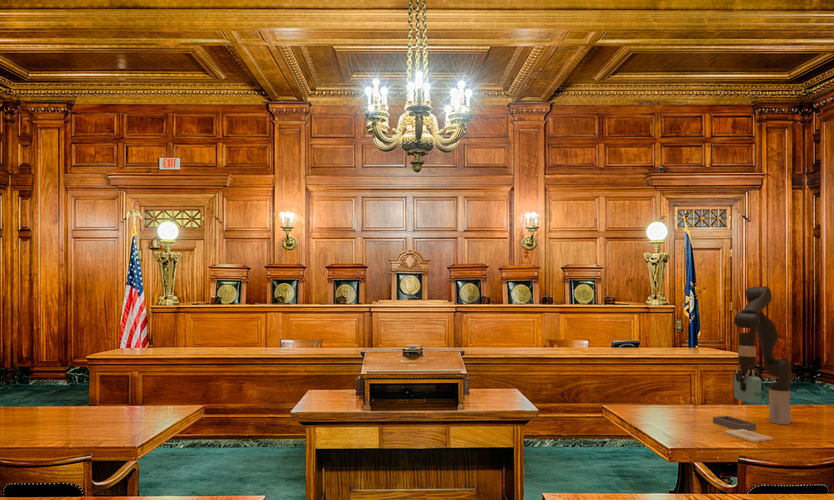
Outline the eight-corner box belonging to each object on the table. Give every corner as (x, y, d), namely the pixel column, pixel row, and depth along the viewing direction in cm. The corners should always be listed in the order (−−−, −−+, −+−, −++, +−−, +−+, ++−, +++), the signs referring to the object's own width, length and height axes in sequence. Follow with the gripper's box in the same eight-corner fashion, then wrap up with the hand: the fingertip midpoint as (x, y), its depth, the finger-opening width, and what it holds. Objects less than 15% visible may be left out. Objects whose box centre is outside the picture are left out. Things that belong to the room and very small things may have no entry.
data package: (761, 403, 268) (761, 377, 269) (753, 403, 267) (753, 377, 268) (741, 397, 280) (741, 373, 280) (733, 398, 279) (733, 373, 279)
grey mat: (743, 431, 282) (743, 429, 282) (773, 440, 267) (773, 437, 267) (723, 433, 278) (723, 430, 278) (752, 442, 263) (752, 439, 263)
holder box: (727, 421, 302) (727, 415, 302) (756, 429, 286) (756, 423, 286) (713, 422, 298) (713, 417, 299) (741, 431, 282) (741, 425, 283)
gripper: (751, 353, 280) (751, 388, 280) (729, 354, 275) (729, 389, 275) (765, 355, 273) (765, 391, 272) (742, 356, 268) (743, 392, 268)
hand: (747, 390), depth 274 cm, fingers closed on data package, 4 cm apart
